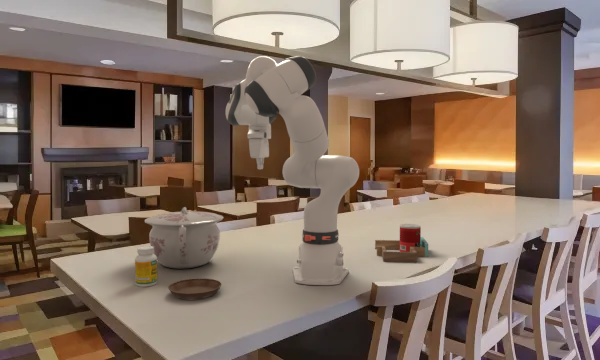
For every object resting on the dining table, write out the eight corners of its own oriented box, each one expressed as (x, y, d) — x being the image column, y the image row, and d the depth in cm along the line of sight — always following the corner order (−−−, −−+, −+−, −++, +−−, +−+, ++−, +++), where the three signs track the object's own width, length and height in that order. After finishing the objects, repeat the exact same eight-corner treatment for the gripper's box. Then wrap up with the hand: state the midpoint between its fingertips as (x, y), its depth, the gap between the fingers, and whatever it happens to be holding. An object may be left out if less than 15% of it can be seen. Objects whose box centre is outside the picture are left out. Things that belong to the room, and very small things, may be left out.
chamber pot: (183, 252, 178) (181, 201, 177) (239, 259, 166) (238, 204, 164) (126, 269, 153) (124, 209, 152) (187, 279, 141) (186, 214, 139)
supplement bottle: (139, 281, 139) (138, 245, 138) (159, 280, 139) (158, 245, 139) (132, 287, 133) (131, 250, 132) (154, 287, 133) (153, 249, 132)
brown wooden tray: (424, 256, 169) (425, 247, 168) (376, 255, 171) (376, 246, 171) (419, 249, 181) (419, 240, 181) (375, 248, 184) (375, 239, 183)
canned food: (419, 255, 170) (420, 227, 169) (398, 254, 173) (398, 226, 172) (420, 251, 177) (421, 224, 177) (400, 250, 180) (400, 223, 179)
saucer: (201, 283, 137) (200, 274, 137) (232, 293, 128) (232, 284, 128) (158, 295, 126) (157, 285, 126) (188, 307, 117) (188, 296, 116)
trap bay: (416, 262, 160) (416, 252, 160) (383, 261, 162) (383, 252, 162) (413, 256, 169) (413, 247, 169) (381, 255, 171) (381, 246, 170)
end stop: (428, 256, 169) (428, 243, 168) (424, 256, 169) (425, 243, 168) (422, 249, 181) (422, 237, 181) (419, 249, 181) (419, 237, 181)
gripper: (257, 135, 187) (258, 168, 188) (246, 133, 167) (246, 170, 168) (272, 135, 186) (272, 168, 187) (262, 133, 166) (263, 170, 167)
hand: (260, 169), depth 177 cm, fingers closed
